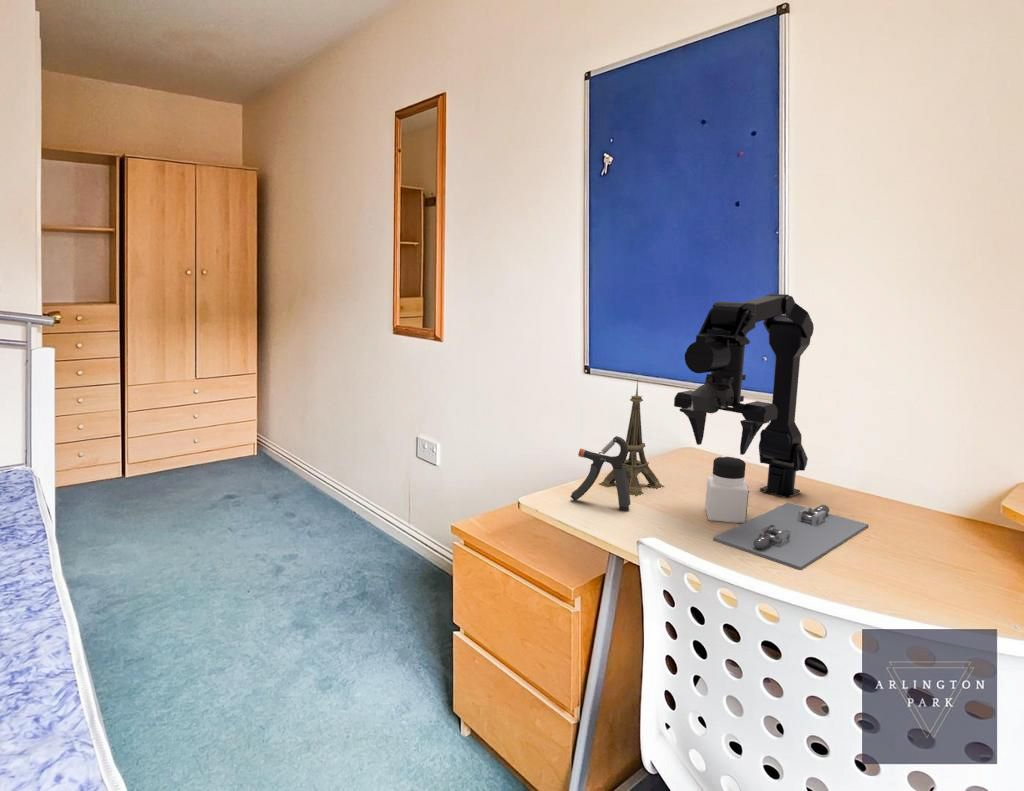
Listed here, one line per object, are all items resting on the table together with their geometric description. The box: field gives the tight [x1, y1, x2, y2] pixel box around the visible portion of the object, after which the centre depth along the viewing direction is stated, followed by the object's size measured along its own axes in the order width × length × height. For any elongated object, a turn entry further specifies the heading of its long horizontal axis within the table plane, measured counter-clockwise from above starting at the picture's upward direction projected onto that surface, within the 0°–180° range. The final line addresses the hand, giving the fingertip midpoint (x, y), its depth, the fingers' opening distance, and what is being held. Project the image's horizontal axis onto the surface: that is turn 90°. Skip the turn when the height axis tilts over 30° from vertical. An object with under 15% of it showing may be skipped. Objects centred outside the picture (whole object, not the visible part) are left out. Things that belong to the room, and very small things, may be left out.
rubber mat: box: [712, 502, 869, 571], centre depth 122 cm, size 30×16×1 cm, turn 132°
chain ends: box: [753, 504, 830, 550], centre depth 122 cm, size 29×4×2 cm, turn 132°
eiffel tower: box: [598, 378, 665, 497], centre depth 146 cm, size 11×11×25 cm
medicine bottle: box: [704, 455, 750, 524], centre depth 129 cm, size 7×7×12 cm
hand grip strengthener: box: [570, 435, 631, 512], centre depth 133 cm, size 2×12×15 cm, turn 65°
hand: (720, 449), depth 125 cm, fingers open, 9 cm apart
